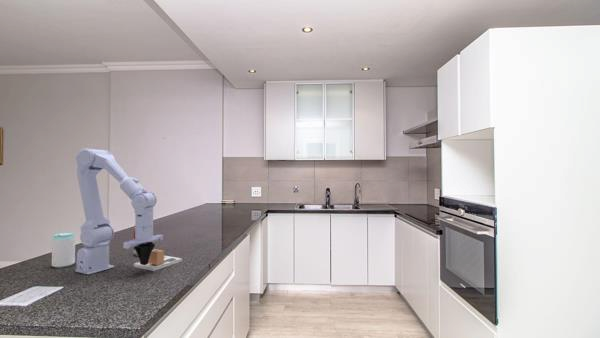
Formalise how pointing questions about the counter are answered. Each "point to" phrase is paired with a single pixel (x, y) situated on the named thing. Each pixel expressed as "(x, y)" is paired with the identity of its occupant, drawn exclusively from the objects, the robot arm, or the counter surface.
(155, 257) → the tab near
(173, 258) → the switch bank
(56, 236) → the white lidded container
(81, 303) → the counter surface
